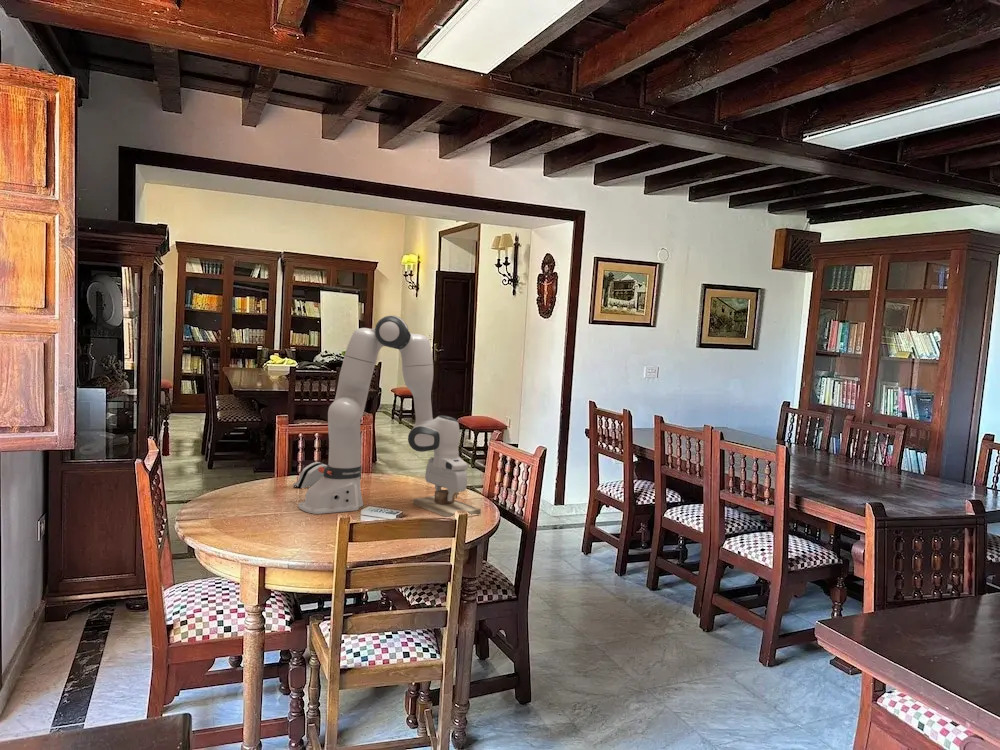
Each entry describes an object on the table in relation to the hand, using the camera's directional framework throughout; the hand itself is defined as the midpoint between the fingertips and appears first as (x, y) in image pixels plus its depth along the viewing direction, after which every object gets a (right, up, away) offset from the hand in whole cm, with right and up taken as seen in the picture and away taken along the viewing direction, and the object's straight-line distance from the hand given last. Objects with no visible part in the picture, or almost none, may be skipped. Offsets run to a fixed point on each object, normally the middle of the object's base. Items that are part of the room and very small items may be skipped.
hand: (444, 499), depth 243 cm
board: (+1, -4, -1) cm, 4 cm away
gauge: (0, -1, 0) cm, 1 cm away
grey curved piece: (-55, 0, +27) cm, 62 cm away
